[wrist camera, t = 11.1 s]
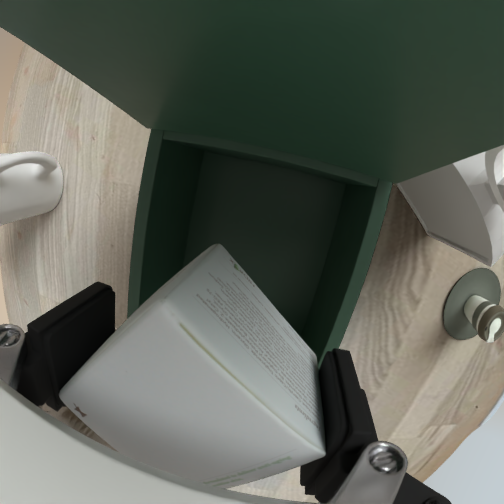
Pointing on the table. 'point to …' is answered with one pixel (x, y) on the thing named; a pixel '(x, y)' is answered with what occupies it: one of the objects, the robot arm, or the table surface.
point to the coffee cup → (475, 307)
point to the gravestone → (463, 204)
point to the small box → (205, 381)
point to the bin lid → (292, 72)
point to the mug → (28, 185)
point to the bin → (259, 226)
